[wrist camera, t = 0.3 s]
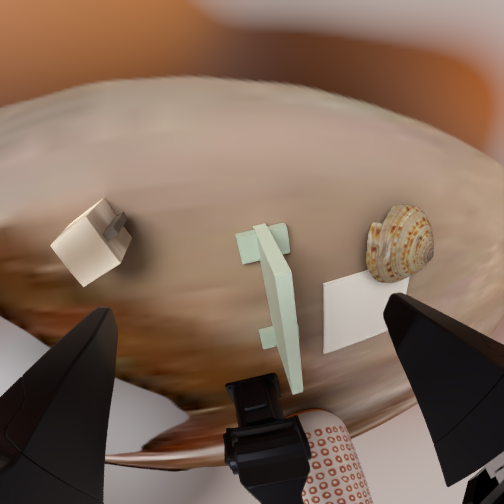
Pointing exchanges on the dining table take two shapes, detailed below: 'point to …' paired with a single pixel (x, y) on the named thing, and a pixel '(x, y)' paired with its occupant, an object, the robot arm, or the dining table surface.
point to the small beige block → (93, 242)
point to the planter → (331, 462)
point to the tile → (355, 309)
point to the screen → (276, 294)
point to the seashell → (399, 244)
